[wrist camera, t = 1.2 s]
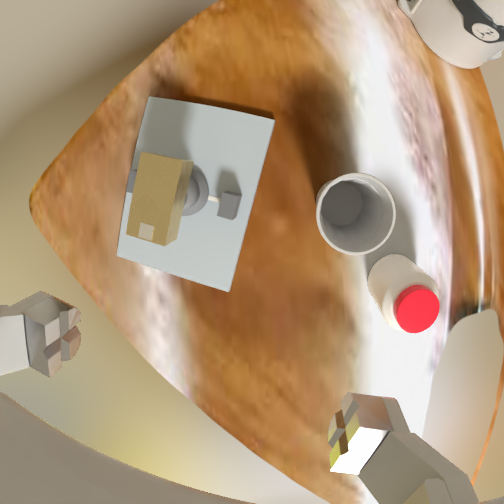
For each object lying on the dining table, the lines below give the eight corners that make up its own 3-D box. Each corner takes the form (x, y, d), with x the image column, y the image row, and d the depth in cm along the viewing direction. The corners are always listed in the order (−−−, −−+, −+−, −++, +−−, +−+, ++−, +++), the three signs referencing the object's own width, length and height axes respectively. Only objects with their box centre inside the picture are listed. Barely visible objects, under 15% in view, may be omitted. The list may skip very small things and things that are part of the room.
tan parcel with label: (158, 153, 35) (140, 151, 30) (196, 161, 34) (182, 160, 30) (144, 226, 37) (125, 234, 32) (179, 237, 37) (164, 246, 32)
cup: (343, 244, 42) (360, 270, 30) (297, 206, 41) (299, 220, 30) (380, 198, 40) (411, 209, 28) (334, 160, 39) (350, 155, 28)
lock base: (152, 97, 40) (128, 87, 33) (275, 121, 39) (271, 111, 32) (120, 253, 46) (95, 266, 40) (230, 289, 45) (219, 309, 39)
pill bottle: (396, 242, 41) (426, 265, 30) (426, 280, 41) (458, 310, 31) (356, 279, 43) (374, 312, 32) (387, 314, 43) (409, 353, 33)
